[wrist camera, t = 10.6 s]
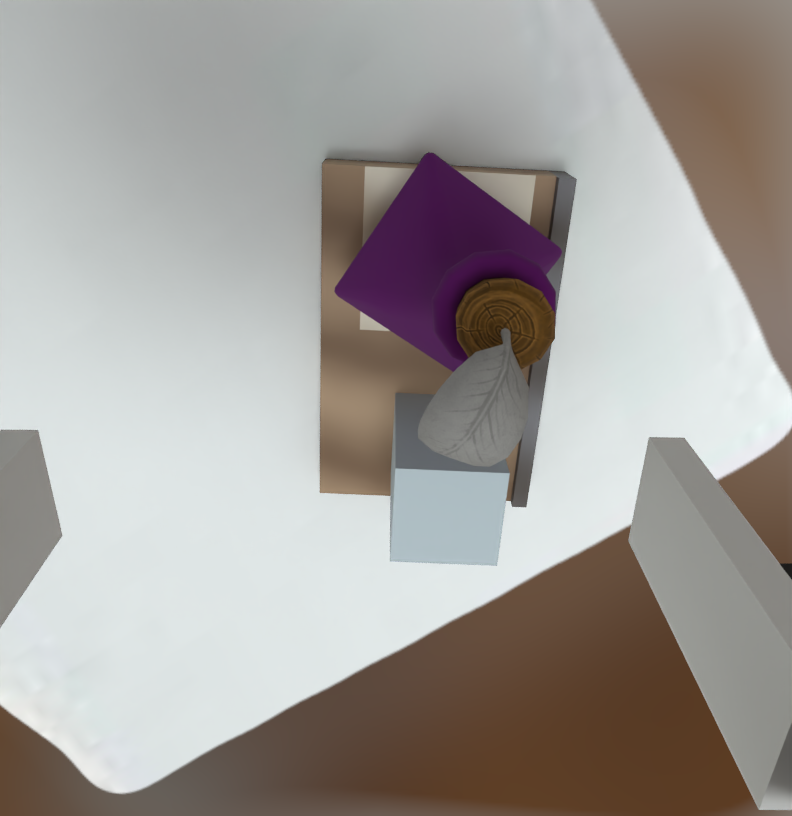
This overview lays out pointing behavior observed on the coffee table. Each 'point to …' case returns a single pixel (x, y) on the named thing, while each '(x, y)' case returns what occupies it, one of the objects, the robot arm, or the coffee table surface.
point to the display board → (390, 354)
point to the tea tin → (441, 498)
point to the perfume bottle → (461, 304)
